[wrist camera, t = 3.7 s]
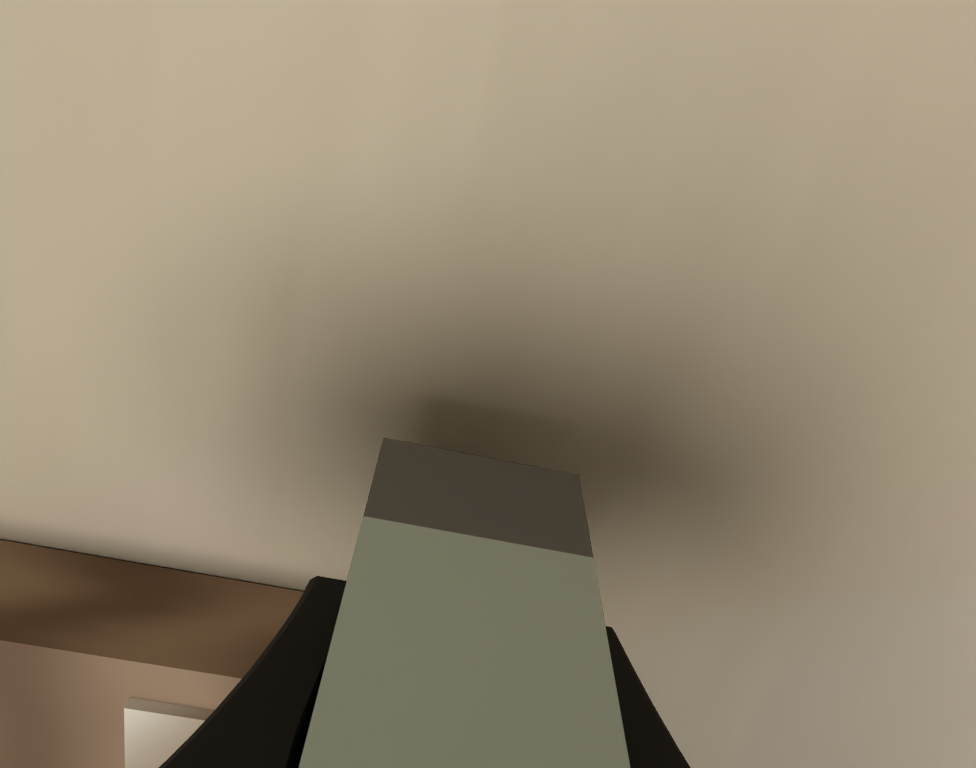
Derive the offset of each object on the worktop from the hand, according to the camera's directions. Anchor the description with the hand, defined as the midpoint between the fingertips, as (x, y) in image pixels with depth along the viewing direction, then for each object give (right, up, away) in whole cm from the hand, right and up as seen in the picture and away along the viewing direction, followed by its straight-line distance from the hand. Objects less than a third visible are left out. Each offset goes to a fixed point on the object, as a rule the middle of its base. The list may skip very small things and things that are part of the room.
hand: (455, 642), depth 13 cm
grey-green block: (0, +1, +3) cm, 3 cm away
